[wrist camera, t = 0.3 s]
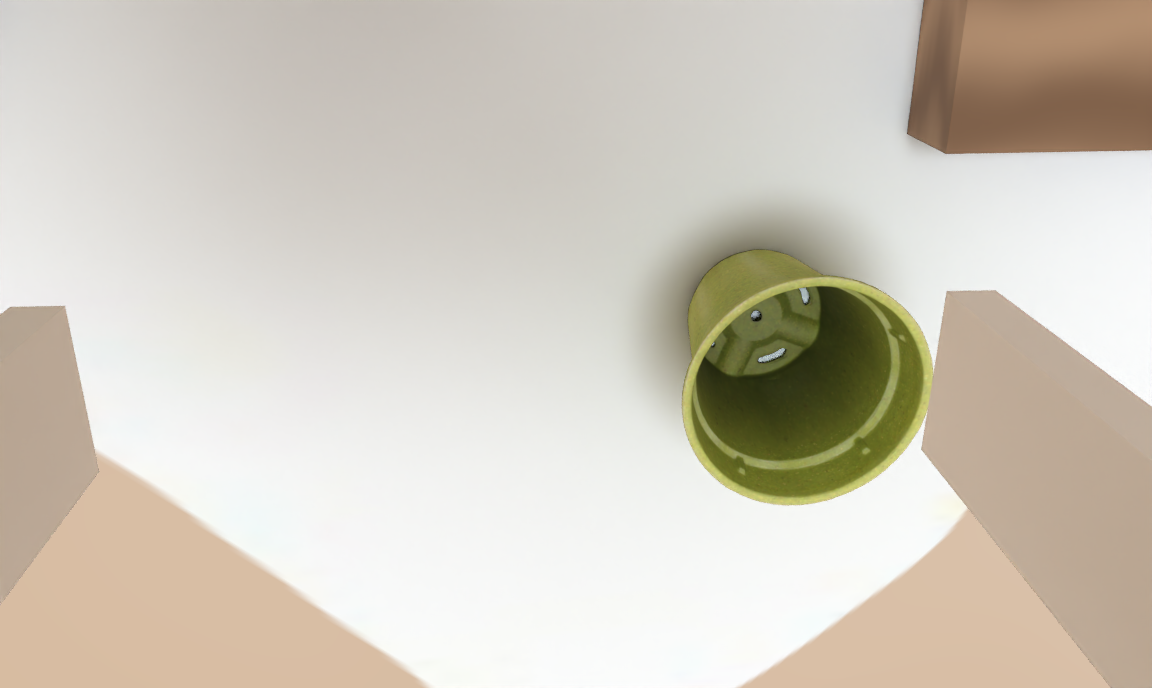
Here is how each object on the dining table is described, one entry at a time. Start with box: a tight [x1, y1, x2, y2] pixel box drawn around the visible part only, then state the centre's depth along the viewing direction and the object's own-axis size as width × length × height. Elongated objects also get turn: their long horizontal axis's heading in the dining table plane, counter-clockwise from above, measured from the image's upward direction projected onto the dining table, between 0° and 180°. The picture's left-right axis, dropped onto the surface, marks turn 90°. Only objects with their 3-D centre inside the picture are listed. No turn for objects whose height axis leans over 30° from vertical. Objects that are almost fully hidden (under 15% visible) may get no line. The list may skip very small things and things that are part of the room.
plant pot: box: [682, 250, 933, 505], centre depth 41 cm, size 9×9×9 cm
